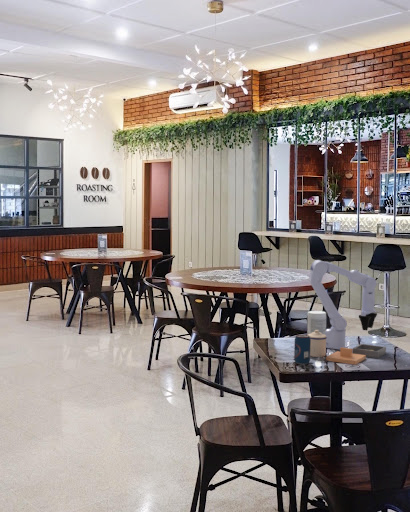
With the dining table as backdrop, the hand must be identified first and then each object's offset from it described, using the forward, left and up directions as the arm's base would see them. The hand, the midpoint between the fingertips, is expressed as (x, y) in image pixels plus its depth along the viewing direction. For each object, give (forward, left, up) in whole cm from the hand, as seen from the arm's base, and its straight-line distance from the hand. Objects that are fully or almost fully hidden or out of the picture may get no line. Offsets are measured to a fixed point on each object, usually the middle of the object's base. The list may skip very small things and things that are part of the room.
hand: (367, 328), depth 311 cm
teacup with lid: (-16, -29, -10) cm, 34 cm away
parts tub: (+5, -12, -9) cm, 16 cm away
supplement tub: (-27, +2, -10) cm, 29 cm away
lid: (0, -29, -8) cm, 30 cm away
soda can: (-14, -46, -10) cm, 49 cm away
